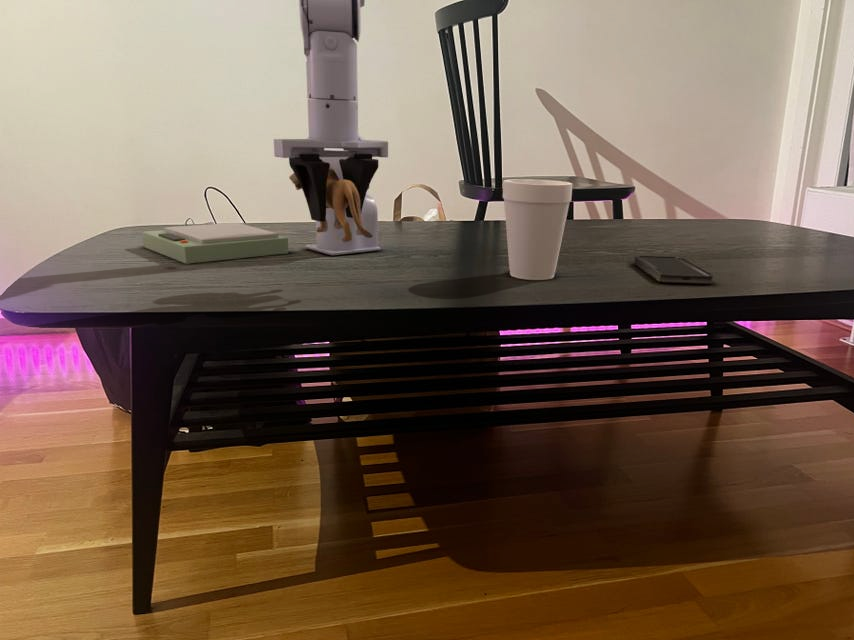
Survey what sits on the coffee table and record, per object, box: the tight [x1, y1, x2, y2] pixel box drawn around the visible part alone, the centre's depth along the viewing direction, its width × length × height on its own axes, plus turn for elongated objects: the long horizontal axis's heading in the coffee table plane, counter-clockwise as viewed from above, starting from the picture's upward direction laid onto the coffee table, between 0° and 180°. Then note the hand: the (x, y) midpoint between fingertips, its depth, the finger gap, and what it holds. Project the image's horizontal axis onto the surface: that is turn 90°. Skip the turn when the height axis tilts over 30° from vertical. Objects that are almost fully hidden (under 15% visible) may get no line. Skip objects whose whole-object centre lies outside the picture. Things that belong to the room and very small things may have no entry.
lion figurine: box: [289, 158, 373, 242], centre depth 84 cm, size 15×5×9 cm, turn 42°
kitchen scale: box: [142, 222, 289, 265], centre depth 108 cm, size 16×16×3 cm
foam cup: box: [502, 178, 573, 281], centre depth 98 cm, size 10×9×13 cm
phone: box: [633, 255, 714, 285], centre depth 105 cm, size 8×1×15 cm
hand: (335, 219), depth 85 cm, fingers closed on lion figurine, 4 cm apart
